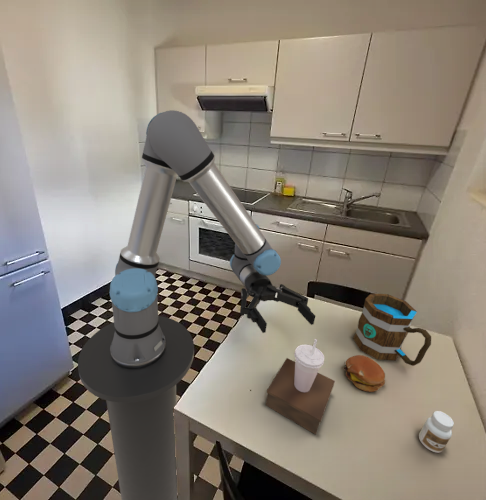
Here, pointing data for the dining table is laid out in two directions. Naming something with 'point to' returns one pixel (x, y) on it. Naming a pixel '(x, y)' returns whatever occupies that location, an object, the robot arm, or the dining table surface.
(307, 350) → the smoothie
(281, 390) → the walnut box
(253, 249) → the robot arm
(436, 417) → the pill bottle
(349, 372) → the burger
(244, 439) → the dining table surface
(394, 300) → the mug
